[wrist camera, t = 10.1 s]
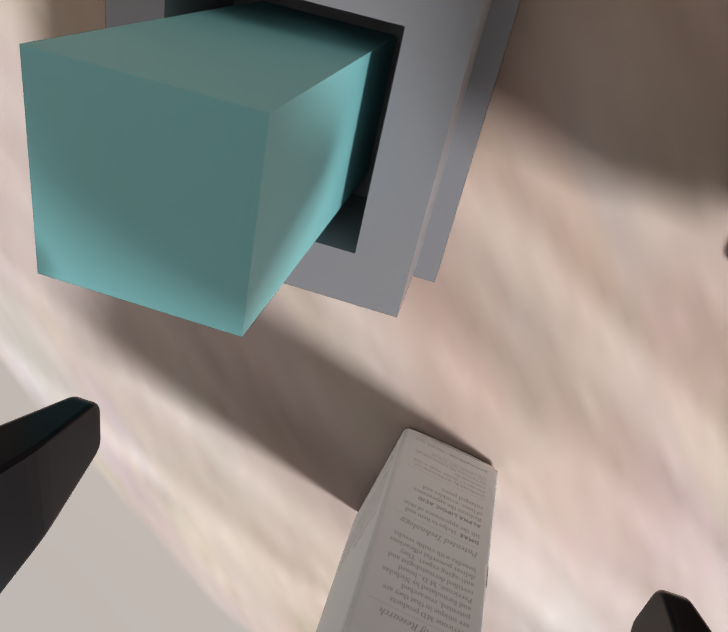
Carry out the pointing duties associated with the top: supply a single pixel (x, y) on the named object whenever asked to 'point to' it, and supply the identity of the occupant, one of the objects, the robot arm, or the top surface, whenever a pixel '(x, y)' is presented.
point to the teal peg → (198, 152)
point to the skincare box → (417, 545)
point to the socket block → (395, 138)
